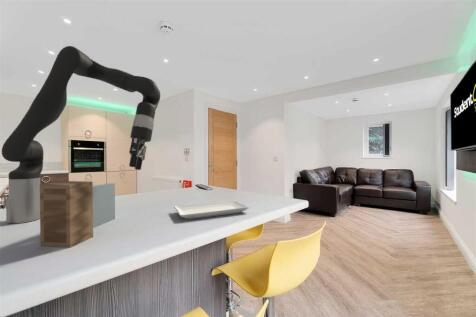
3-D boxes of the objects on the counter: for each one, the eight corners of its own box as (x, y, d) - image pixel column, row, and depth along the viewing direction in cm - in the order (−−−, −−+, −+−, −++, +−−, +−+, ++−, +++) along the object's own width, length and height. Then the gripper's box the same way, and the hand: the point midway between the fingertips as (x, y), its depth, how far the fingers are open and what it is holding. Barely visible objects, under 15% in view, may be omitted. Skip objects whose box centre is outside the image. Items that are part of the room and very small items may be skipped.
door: (91, 228, 77) (91, 187, 77) (84, 228, 78) (83, 187, 78) (115, 219, 89) (114, 183, 89) (108, 218, 90) (108, 183, 89)
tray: (250, 214, 98) (250, 206, 98) (179, 223, 85) (179, 214, 84) (234, 206, 113) (234, 199, 113) (173, 213, 100) (173, 205, 100)
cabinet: (70, 247, 61) (69, 184, 61) (35, 245, 63) (34, 184, 63) (103, 232, 74) (103, 180, 74) (73, 230, 75) (73, 179, 75)
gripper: (136, 132, 91) (129, 169, 88) (127, 120, 78) (118, 164, 75) (155, 134, 93) (148, 171, 90) (149, 124, 79) (141, 167, 76)
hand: (135, 168), depth 82 cm, fingers open, 8 cm apart
